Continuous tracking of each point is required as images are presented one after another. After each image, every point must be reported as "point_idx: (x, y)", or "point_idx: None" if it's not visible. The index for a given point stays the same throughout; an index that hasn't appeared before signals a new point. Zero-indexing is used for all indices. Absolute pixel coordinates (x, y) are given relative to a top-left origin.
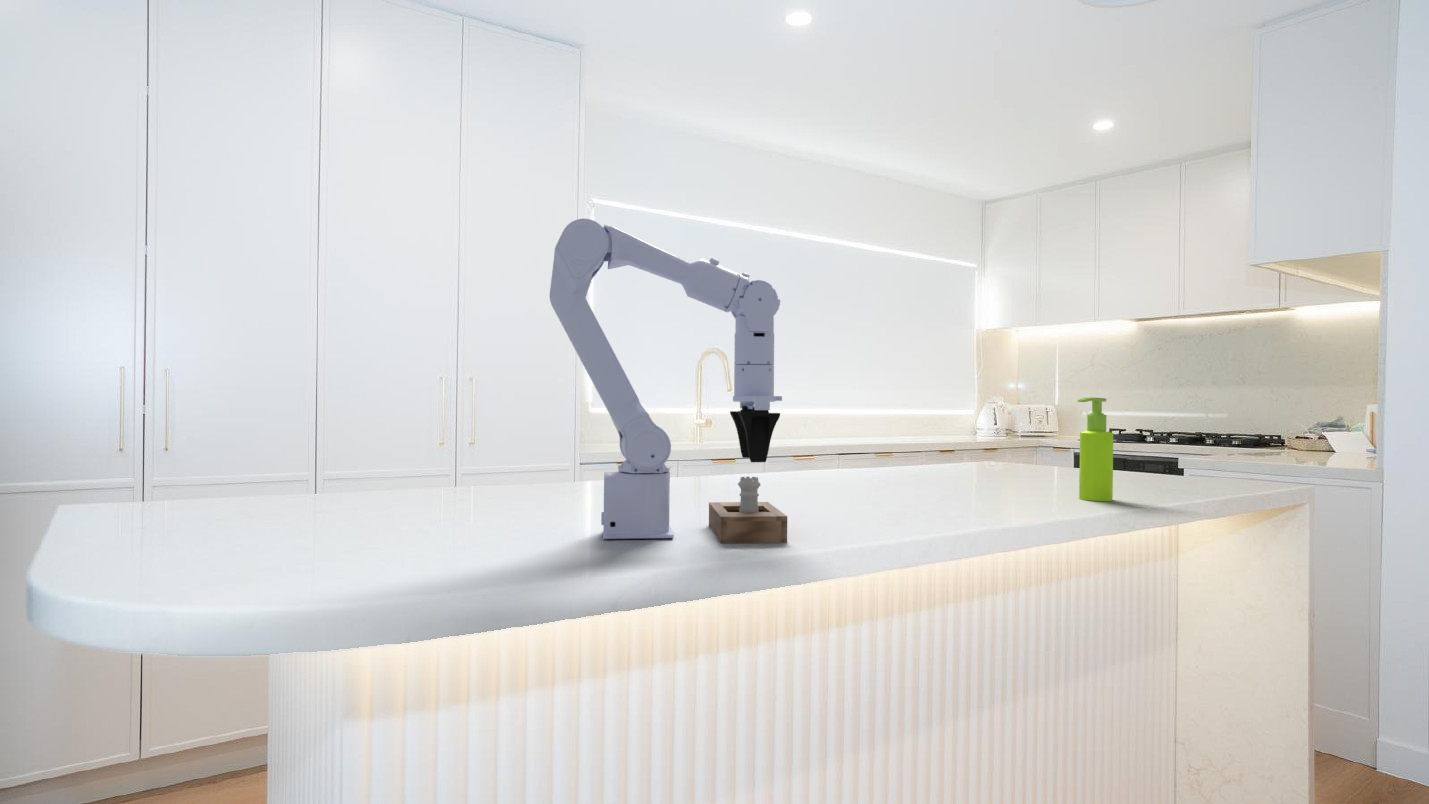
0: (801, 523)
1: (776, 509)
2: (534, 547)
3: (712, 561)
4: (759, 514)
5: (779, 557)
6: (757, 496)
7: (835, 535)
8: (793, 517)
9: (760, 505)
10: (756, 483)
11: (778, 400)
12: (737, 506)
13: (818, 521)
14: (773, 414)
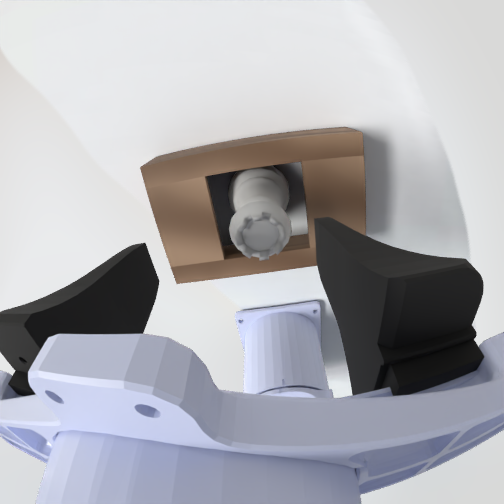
0: (126, 92)
1: (263, 145)
2: (347, 393)
3: (450, 244)
4: (340, 187)
5: (445, 160)
6: (269, 198)
7: (261, 28)
8: (66, 116)
9: (201, 181)
10: (281, 214)
11: (207, 372)
12: (217, 230)
13: (100, 64)
14: (477, 300)
